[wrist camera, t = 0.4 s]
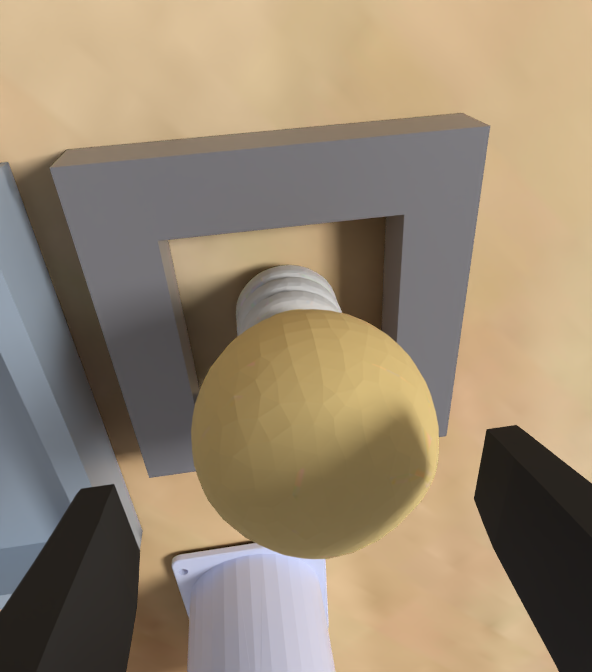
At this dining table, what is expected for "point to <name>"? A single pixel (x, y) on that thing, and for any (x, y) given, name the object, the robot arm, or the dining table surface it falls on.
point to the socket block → (267, 213)
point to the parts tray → (41, 404)
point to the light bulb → (312, 423)
